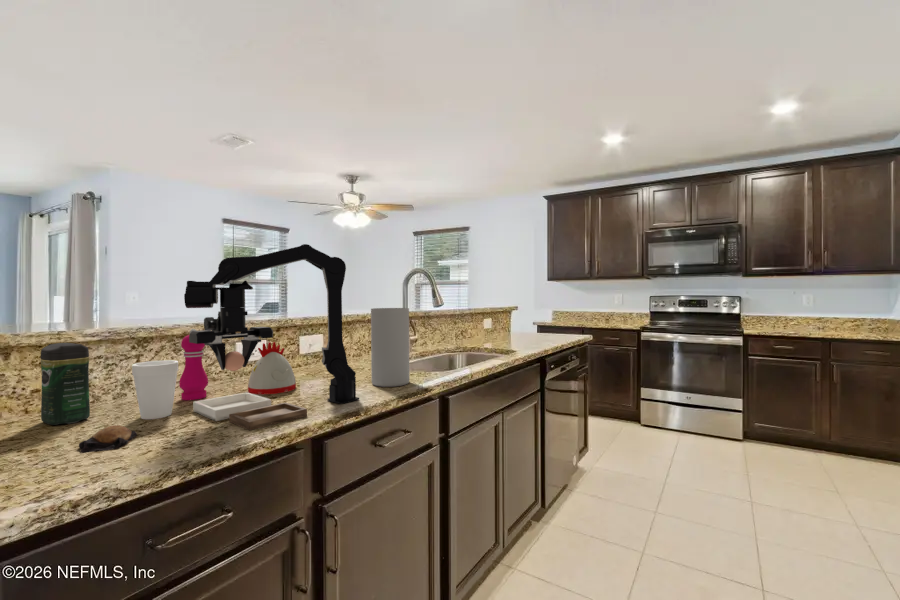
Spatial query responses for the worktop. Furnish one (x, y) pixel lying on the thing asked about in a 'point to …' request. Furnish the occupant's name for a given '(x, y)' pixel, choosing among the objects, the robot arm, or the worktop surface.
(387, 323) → the cylinder vase
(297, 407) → the tray
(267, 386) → the grey and red dome
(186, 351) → the pepper mill
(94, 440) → the turtle figurine
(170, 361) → the foam cup
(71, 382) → the coffee jar
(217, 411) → the dish
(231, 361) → the ball
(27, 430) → the worktop surface
